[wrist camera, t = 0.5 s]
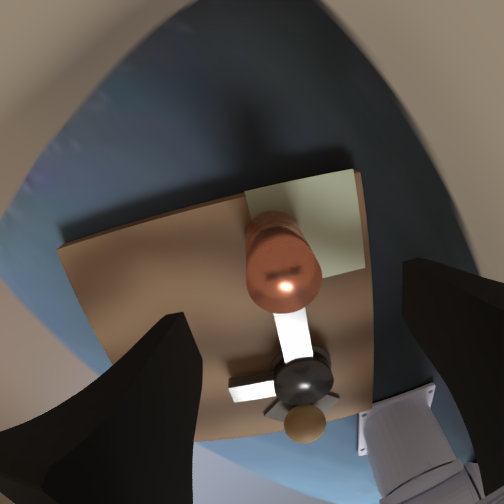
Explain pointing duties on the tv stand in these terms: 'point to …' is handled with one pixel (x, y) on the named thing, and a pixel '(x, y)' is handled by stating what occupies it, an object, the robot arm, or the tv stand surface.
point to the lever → (284, 311)
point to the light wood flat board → (239, 298)
